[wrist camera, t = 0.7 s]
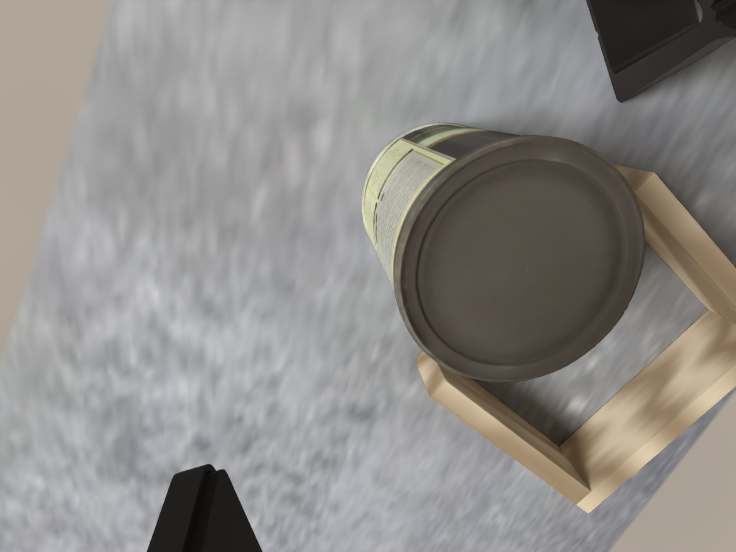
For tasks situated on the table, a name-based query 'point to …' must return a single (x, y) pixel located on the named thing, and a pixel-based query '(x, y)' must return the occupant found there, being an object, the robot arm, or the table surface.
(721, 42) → the phone stand
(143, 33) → the table surface
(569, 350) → the coffee can
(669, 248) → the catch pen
